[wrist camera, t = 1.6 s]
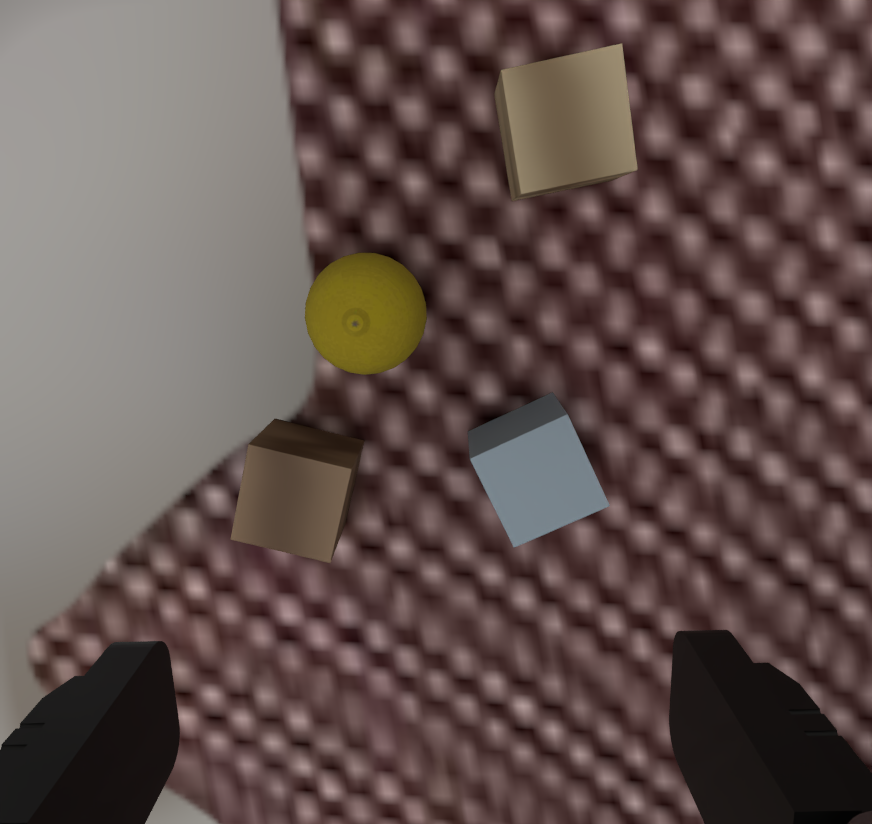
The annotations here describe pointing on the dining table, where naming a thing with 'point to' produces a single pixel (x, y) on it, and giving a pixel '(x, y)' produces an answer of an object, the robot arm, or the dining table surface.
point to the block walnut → (296, 489)
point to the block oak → (565, 122)
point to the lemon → (365, 313)
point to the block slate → (535, 470)
